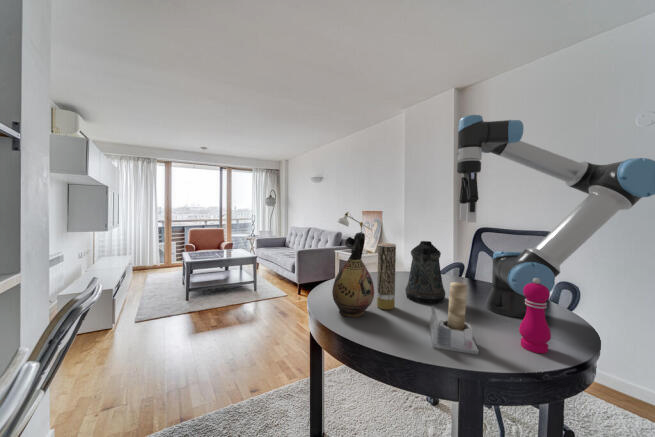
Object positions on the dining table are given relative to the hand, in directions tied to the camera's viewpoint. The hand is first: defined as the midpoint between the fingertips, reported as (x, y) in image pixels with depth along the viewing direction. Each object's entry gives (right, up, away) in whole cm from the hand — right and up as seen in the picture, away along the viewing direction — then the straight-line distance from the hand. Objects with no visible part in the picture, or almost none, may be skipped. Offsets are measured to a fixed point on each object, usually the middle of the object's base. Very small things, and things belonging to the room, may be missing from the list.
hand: (467, 221), depth 100 cm
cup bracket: (-12, -35, -17) cm, 41 cm away
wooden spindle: (-12, -34, -17) cm, 40 cm away
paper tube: (-27, -34, +11) cm, 45 cm away
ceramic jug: (-40, -34, +6) cm, 53 cm away
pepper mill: (+9, -36, -20) cm, 42 cm away
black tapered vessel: (-7, -34, +22) cm, 41 cm away
